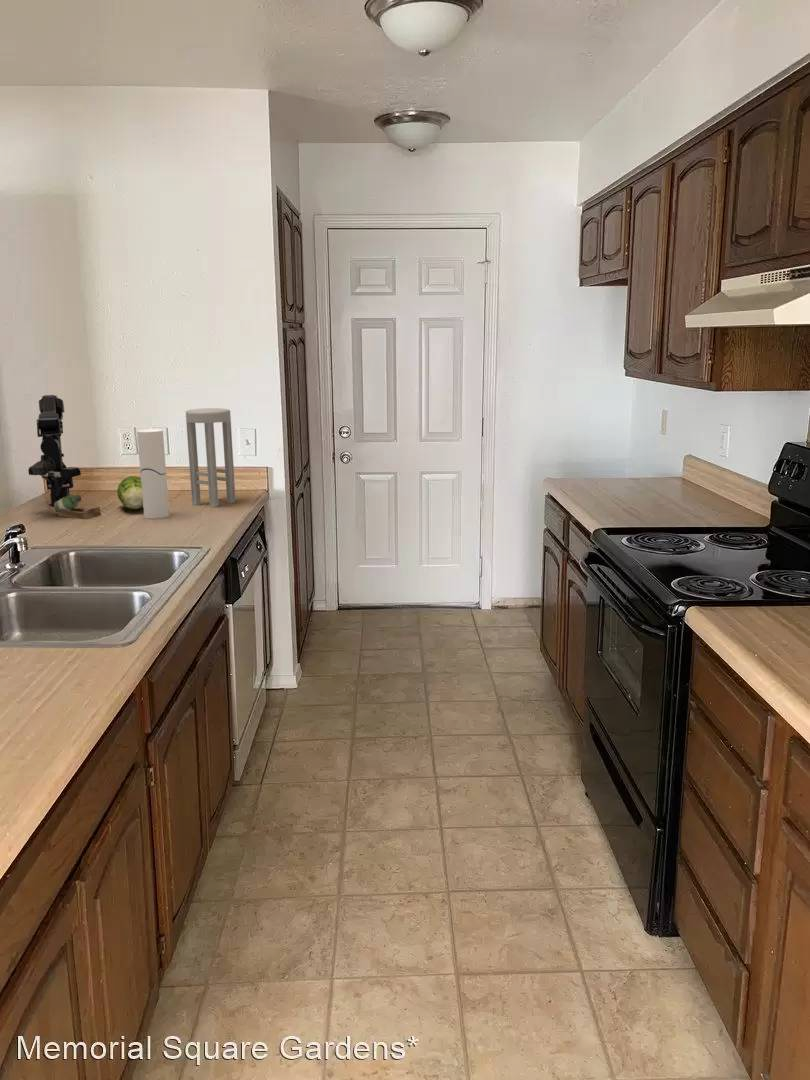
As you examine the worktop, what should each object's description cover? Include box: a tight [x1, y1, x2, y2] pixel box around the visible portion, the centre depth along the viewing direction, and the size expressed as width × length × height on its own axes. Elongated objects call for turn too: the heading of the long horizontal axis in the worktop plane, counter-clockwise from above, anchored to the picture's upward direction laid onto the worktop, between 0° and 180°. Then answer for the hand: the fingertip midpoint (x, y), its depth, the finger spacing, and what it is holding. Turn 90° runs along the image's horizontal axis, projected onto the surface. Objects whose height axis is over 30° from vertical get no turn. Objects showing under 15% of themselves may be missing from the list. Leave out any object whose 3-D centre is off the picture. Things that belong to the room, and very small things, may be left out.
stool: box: [185, 407, 236, 508], centre depth 311 cm, size 16×16×35 cm
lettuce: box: [116, 475, 143, 510], centre depth 305 cm, size 12×21×11 cm, turn 20°
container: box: [136, 428, 170, 520], centre depth 291 cm, size 9×9×30 cm
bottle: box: [53, 493, 82, 514], centre depth 296 cm, size 5×5×10 cm
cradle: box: [57, 506, 102, 520], centre depth 295 cm, size 7×12×3 cm, turn 68°
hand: (57, 495), depth 298 cm, fingers closed
